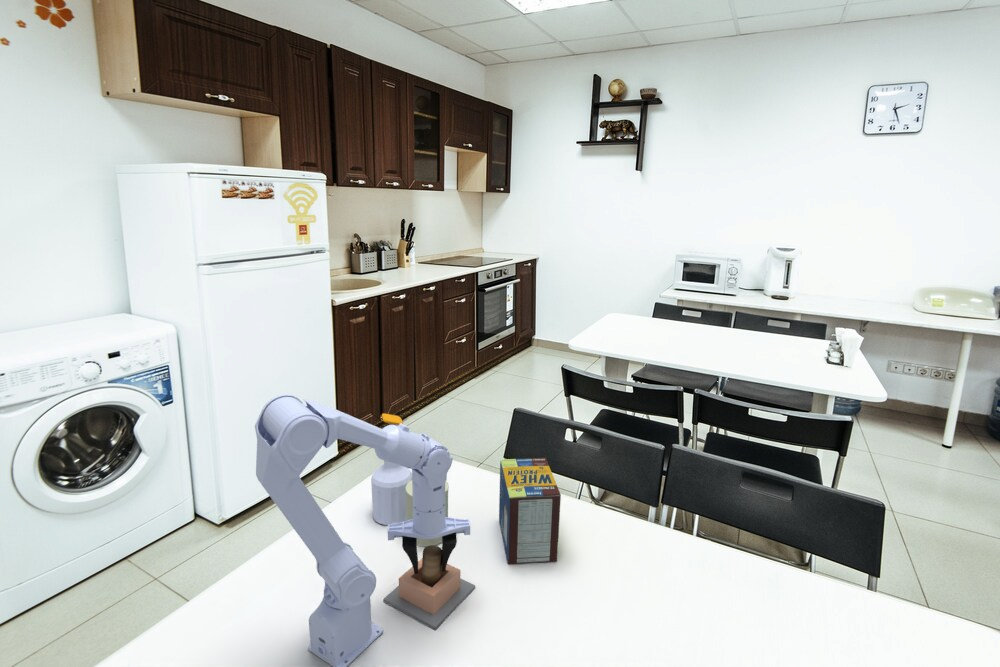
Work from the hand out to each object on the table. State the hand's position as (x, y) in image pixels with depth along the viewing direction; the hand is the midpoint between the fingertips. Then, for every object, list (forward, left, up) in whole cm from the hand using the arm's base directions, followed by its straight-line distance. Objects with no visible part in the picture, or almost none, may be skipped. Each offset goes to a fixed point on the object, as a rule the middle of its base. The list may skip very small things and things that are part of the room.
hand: (429, 568), depth 98 cm
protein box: (+24, -7, -6) cm, 26 cm away
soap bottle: (+15, +23, -6) cm, 28 cm away
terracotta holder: (0, 0, -6) cm, 6 cm away
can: (+14, +12, -6) cm, 19 cm away
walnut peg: (0, 0, -4) cm, 4 cm away
